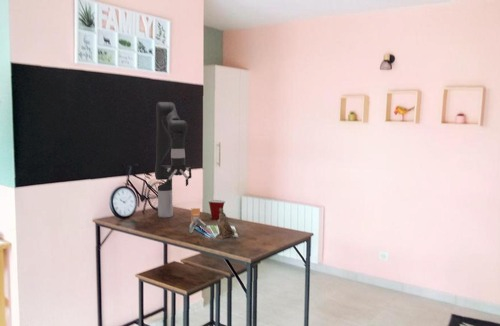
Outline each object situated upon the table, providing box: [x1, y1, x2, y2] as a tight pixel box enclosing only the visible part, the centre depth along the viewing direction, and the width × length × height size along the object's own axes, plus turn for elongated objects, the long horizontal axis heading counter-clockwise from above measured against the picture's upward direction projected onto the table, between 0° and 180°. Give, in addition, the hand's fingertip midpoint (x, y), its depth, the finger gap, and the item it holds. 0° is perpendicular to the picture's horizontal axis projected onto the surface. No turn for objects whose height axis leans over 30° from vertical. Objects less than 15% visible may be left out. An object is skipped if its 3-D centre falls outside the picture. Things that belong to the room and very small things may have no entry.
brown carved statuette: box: [215, 208, 235, 240], centre depth 227 cm, size 12×6×18 cm, turn 143°
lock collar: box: [190, 207, 201, 222], centre depth 255 cm, size 3×5×9 cm, turn 101°
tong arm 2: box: [196, 218, 208, 231], centre depth 244 cm, size 18×1×4 cm, turn 21°
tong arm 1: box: [189, 218, 197, 234], centre depth 243 cm, size 18×1×4 cm, turn 1°
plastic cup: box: [208, 199, 226, 221], centre depth 269 cm, size 11×11×12 cm
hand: (178, 186), depth 235 cm, fingers open, 8 cm apart
